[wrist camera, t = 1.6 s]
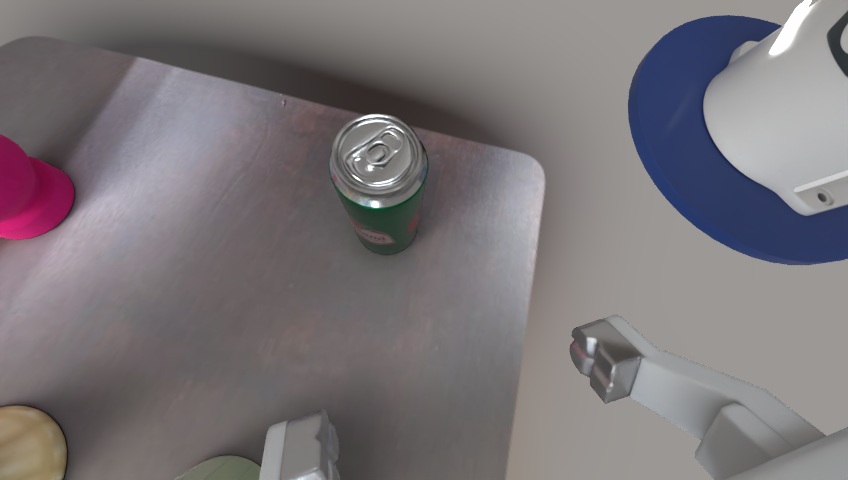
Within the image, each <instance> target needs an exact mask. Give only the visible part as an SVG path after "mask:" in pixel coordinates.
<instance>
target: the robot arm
mask: <svg viewBox="0 0 848 480" xmlns="http://www.w3.org/2000/svg"><path fill="white" fill-rule="evenodd" d="M811 1H812V0H805V1H804V2H803V3H802V4H800V5H799V6H798V7H797V8H796V9H795V11H794V12H793V14H792V15H791V17H790V19H789V20H788V22H787V23H786V24H785V25H783V26H782V27H780V28H779V29H777V30H776V31H775V32H773V33H772V34H770V35H769V36H767V37H766V38H764V39H763V40H762V41H760V42H755V41H747V42H745V43H744V44H742V45H741V46H739V47H738V48H736V49H735V50H734V51H733V53H732V55H731V58H730V61H729V64H728V66H727V67H726V68H725V69H724V70H723V71H721V72H720V73H719V74H717V75H716V76H715V77H714V78H713V79H712V81H711V82H710V83H709V85H708V87H707V89H706V92H705V95H704V101H703V112H704V118H705V122H706V126H707V128H708V131H709V133H710V136H711V137H712V139H713V141H714V143H715V144H716V146H717V147H718V149H719V150H720V152H721V153H722V154H723V155H724V156H725V158H726V159H727V160H728V161H729V162H730V163H731V164H732V165H733V166H734V167H735V168H737V169H738V170H739V171H740V172H742V173H743V174H744V175H746V176H747V177H749V178H750V179H752V180H754V181H755V182H757V183H759V184H761V185H763V186H765V187H767V188H769V189H770V190H772V191H773V192H775V193H776V194H777V195H778V196H779V197H780V198H781V199H782V200H783V201H784V202H785V203H786V204H787V205H789V206H790V207H791V208H792V209H793V210H794V211H796V212H797V213H799V214H801V215H804V216H810V215H814V214H817V213H821V212H824V211H828V210H831V209H835V208H838V207H842V206H846V205H848V0H819V1H818V2H817V3H815V4H813V5H812V6H811V7H809V8H808V9H807V7H808V6H809V4H810V2H811ZM572 337H573V338H574V339H575V340H574V341H573V342H572V344H571V345H570V355H571V358H572V361H573V363H574V364H575V366H576V368H577V369H578V370H579V371H580V373H581V374H583V375H585V376H587V377H589V378H590V385H591V387H592V388H593V389H594V390H595V391H596V393H597V394H598V395H599V397H600V398H601V399H602V400H603V402H604V403H605V404H606V403H609V402H611V401H615V400H618V399H621V398H624V397H627V396H630V398H632V399H633V400H635V401H637V402H638V403H640V404H642V405H643V406H645V407H647V408H648V409H650V410H652V411H654V412H655V413H657V414H659V415H661V416H662V417H664V418H665V419H667V420H669V421H670V422H672V423H674V424H675V425H677V426H679V427H680V428H682V429H684V430H685V431H687V432H689V433H690V434H692V435H694V436H695V437H697V438H699V439H700V440H702V441H701V443H700V445H699V447H698V448H697V450H696V451H695V458H696V460H697V461H698V462H699V463H700V464H701V465H702V466H703V467H704V469H705V470H706V471H707V472H708V473H709V474H710V475H711V476H712V477H713V479H714V480H848V427H847V428H845V429H842V430H840V431H838V432H836V433H833V434H831V435H828V436H826V435H824V434H823V433H822V432H820V431H819V430H818V429H817V428H815V427H814V426H813V425H811V424H810V423H809V422H807V421H806V420H805V419H803V418H802V417H801V416H800V415H798V414H797V413H796V412H794V411H793V410H792V409H790V408H789V407H788V406H786V405H785V404H784V403H783V402H781V401H780V400H779V399H777V398H776V397H774V396H773V395H772V394H771V393H769V392H768V391H767V390H765V389H763V388H760V387H758V386H755V385H753V384H750V383H747V382H745V381H742V380H740V379H737V378H735V377H732V376H730V375H727V374H724V373H722V372H719V371H716V370H714V369H711V368H709V367H706V366H704V365H701V364H699V363H696V362H693V361H691V360H688V359H686V358H683V357H681V356H678V355H675V354H673V353H670V352H668V351H662V352H661V351H660V350H658V349H657V348H656V347H655V346H654V345H653V344H652V343H650V342H649V341H648V340H647V339H646V338H645V337H644V336H643V335H641V334H640V333H639V332H638V331H637V330H636V329H635V328H633V327H632V326H631V325H630V324H629V323H628V322H627V321H626V320H624V319H623V318H622V317H621V316H618V315H613V316H610V317H607V318H604V319H600V320H597V321H594V322H591V323H588V324H585V325H582V326H579V327H576V328H574V330H573V331H572ZM339 457H340V455H339V441H338V435H337V432H336V428H335V426H334V425H333V423H330V422H328V414H327V412H326V410H325V409H324V410H320V411H317V412H314V413H311V414H307V415H304V416H301V417H298V418H294V419H291V420H287V421H284V422H281V423H278V424H275V425H272V426H270V428H269V430H268V433H267V437H266V443H265V449H264V454H263V460H262V466H261V472H260V477H259V480H340V473H339V471H338V469H337V468H336V466H335V464H336V463H337V461H338V459H339Z"/></svg>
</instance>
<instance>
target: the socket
mask: <svg viewBox="0 0 848 480" xmlns="http://www.w3.org/2000/svg"><path fill="white" fill-rule="evenodd" d="M260 472H261V467H260V466H259V465H257V464H256V463H254V462H253V461H251V460H248V459H246V458H243V457H239V456H232V455H228V456H219V457H214V458H211V459H208V460H206V461H203V462H201V463H199V464H198V465H196V466H194V467H193V468H191V469H190V470H188V471H186V472H184V473H182V474H181V475H180V476H178V477H177V478H175V479H174V480H259V477H260Z"/></svg>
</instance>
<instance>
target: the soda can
mask: <svg viewBox="0 0 848 480" xmlns="http://www.w3.org/2000/svg"><path fill="white" fill-rule="evenodd" d="M328 165H329V174H330V178H331V180H332V183H333V185H334V187H335V189H336V191H337V193H338V195H339V197H340V199H341V202H342V204H343V206H344V208H345V210H346V212H347V214H348V216H349V218H350V220H351V222H352V225H353V227H354V229H355V231H356V233H357V235H358V237H359V239H360V241H361V242H362V243H363V245H364V246H365V247H367V248H368V249H369V250H371V251H373V252H375V253H378V254H385V255H389V254H395V253H398V252H400V251H403V250H404V249H406V248H407V247H408V246H409V245H410V244H411V243H412V242H413V240H414V238H415V236H416V233H417V229H418V224H419V218H420V213H421V207H422V201H423V196H424V190H425V185H426V179H427V174H428V157H427V153H426V151H425V148H424V146H423V144H422V143H421V141H420V140H419V138H418V136H417V135H416V133H415V132H414V130H413V129H412V128H411V127H410V126H409V125H408V124H406V123H405V122H403V121H402V120H400V119H398V118H396V117H392V116H390V115H385V114H369V115H364V116H361V117H358V118H356V119H354V120H352V121H350V122H349V123H348V124H346V125H345V126H344V127H343V128H342V129H341V130H340V132H339V133H338V135H337V136H336V139H335V141H334V144H333V148H332V150H331V153H330V156H329V164H328Z"/></svg>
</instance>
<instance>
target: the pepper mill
mask: <svg viewBox="0 0 848 480" xmlns="http://www.w3.org/2000/svg"><path fill="white" fill-rule="evenodd" d="M73 201H74V188H73V184H72V181H71V180H70V178H69V177H68V176H67V175H66V174H65V173H64V172H63V171H61V170H60V169H58V168H55V167H53V166H51V165H49V164H47V163H45V162H42V161H40V160H38V159H35V158H32V157H28V156H27V155H26V153H25V152H24V151H23V150H22V149H21V148H20V147H19V146H18V145H17V144H16V143H15V142H13V141H12V140H10V139H9V138H7V137H5V136H3V135H1V134H0V237H3V238H8V239H28V238H33V237H36V236H39V235H41V234H44V233H46V232H47V231H49V230H51V229H53V228H54V227H55V226H56V225H58V224H59V223H60V222H61V221H62V220H63V219H64V218H65V217H66V215H67V214H68V212H69V211H70V208H71V206H72V204H73Z"/></svg>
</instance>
